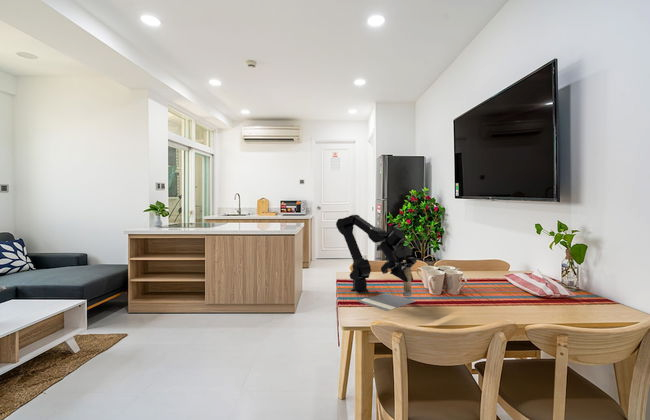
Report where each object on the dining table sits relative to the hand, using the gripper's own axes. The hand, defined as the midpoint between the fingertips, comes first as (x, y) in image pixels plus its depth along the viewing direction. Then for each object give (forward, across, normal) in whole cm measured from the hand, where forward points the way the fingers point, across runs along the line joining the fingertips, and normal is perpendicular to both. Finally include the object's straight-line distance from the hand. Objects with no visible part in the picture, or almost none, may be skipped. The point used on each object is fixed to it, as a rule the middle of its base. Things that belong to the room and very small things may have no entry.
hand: (409, 281), depth 142 cm
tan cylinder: (+4, 0, +6) cm, 7 cm away
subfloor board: (+2, -6, +13) cm, 14 cm away
